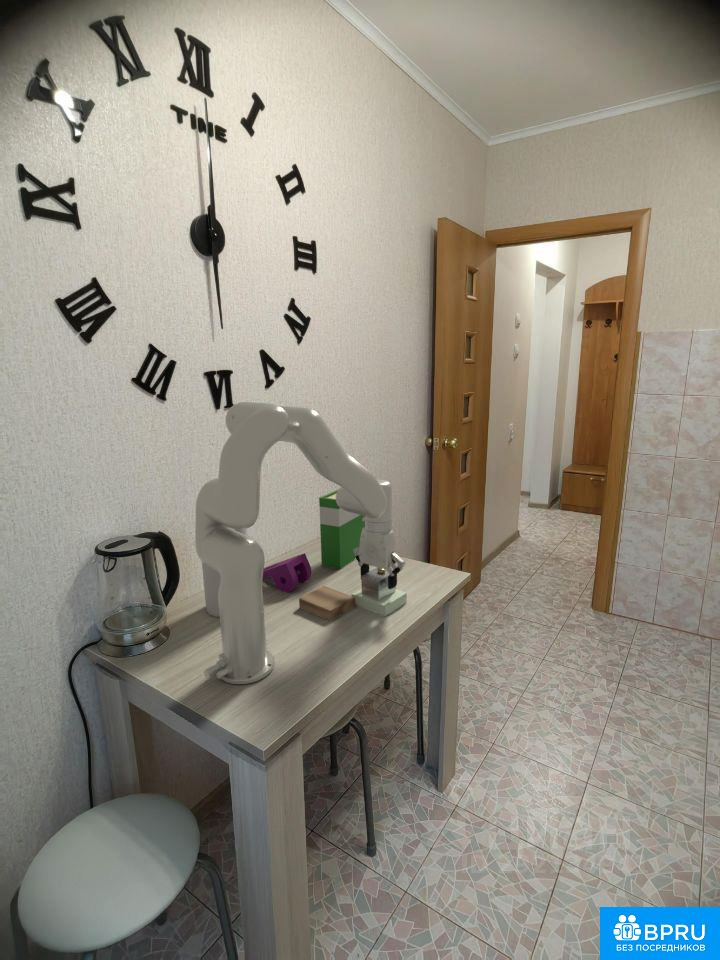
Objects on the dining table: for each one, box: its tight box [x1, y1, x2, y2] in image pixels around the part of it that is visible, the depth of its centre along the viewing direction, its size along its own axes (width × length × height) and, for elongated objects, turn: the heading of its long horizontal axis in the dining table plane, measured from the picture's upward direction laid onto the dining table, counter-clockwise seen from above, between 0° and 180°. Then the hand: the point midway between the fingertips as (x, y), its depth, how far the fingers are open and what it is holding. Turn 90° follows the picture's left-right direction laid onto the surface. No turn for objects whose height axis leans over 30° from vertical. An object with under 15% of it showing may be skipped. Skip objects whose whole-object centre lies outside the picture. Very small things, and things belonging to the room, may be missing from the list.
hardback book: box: [318, 488, 365, 570], centre depth 170 cm, size 18×7×24 cm, turn 151°
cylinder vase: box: [201, 529, 248, 618], centre depth 136 cm, size 12×12×25 cm
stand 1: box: [298, 585, 356, 622], centre depth 138 cm, size 10×12×3 cm
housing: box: [360, 567, 397, 602], centre depth 139 cm, size 8×6×7 cm
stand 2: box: [351, 587, 407, 617], centre depth 140 cm, size 10×12×3 cm
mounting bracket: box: [263, 553, 313, 593], centre depth 154 cm, size 9×8×18 cm
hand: (378, 582), depth 139 cm, fingers open, 9 cm apart
